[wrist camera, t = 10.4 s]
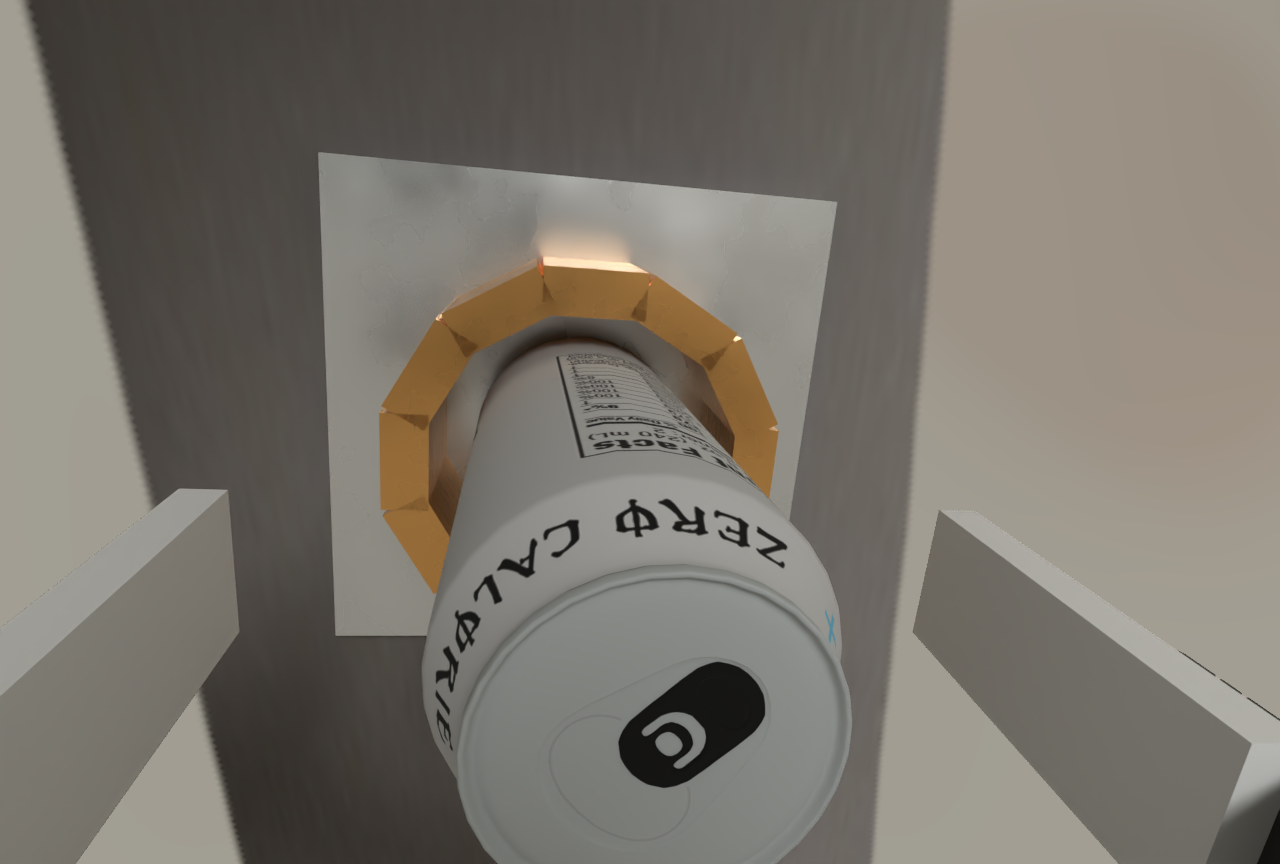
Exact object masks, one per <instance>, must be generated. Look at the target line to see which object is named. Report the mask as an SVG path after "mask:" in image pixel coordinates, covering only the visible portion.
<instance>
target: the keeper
mask: <svg viewBox="0 0 1280 864" xmlns="http://www.w3.org/2000/svg"><path fill="white" fill-rule="evenodd" d="M318 161H319V189H320V216H321V244H322V272H323V300H324V327H325V355H326V383H327V411H328V438H329V466H330V494H331V521H332V549H333V577H334V605H335V632H336V636H427V632H428V626H429V622H430V618H431V614H432V610H433V606H434V602H435V597H436V593H437V589H438V585H439V581H440V577H441V572H442V568H443V564H444V560H445V556H446V552H447V548H448V543H449V539H450V535H451V531H452V527H453V523H454V518H455V514H456V510H457V506H458V502H459V498H460V494H461V489H462V485H463V481H464V477H465V473H466V469H467V464H468V460H469V456H470V452H471V448H472V444H473V440H474V435H475V431H476V427H477V423H478V419H479V415H480V410H481V407H482V405H483V402H484V400H485V397H486V395H487V393H488V390H489V389H490V387H491V386H492V384H493V383H494V381H495V380H496V378H497V377H498V375H499V374H500V373H501V372H502V371H503V370H504V369H505V368H506V367H507V366H508V365H509V364H510V363H511V362H512V361H513V360H515V359H516V358H518V357H519V356H521V355H522V354H524V353H525V352H527V351H528V350H530V349H532V348H534V347H537V346H539V345H542V344H544V343H547V342H549V341H555V340H560V339H565V338H592V339H597V340H602V341H607V342H610V343H613V344H615V345H617V346H620V347H622V348H624V349H627V350H628V351H630V352H631V353H633V354H634V355H636V356H637V357H638V358H640V359H641V360H643V361H644V362H645V363H646V364H647V365H648V366H649V367H650V368H651V369H652V370H653V372H654V373H655V374H656V375H657V376H658V377H659V378H660V379H661V380H662V381H663V382H664V383H665V385H666V386H667V387H668V388H669V389H670V390H671V391H672V392H673V393H674V394H675V396H676V397H677V398H678V399H679V400H680V401H681V402H682V403H683V404H684V405H685V407H686V408H687V409H688V410H689V411H690V412H691V413H692V414H693V415H694V416H695V418H696V419H697V420H698V421H699V422H700V423H701V424H702V425H703V426H704V428H705V429H706V430H707V431H708V432H709V433H710V434H711V435H712V436H713V437H714V439H715V440H716V441H717V442H718V443H719V444H720V445H721V446H722V447H723V448H724V450H725V451H726V452H727V453H728V454H729V455H730V456H731V457H732V458H733V459H734V461H735V462H736V463H737V464H738V465H739V466H740V467H741V468H742V469H743V470H744V472H745V473H746V474H747V475H748V476H749V477H750V478H751V479H752V480H753V481H754V483H755V484H756V485H757V486H758V487H759V488H760V489H761V490H762V491H763V492H764V494H765V495H766V496H767V497H768V498H769V499H770V500H771V501H772V502H773V504H774V505H775V506H776V507H777V508H778V509H779V510H780V511H781V512H782V513H783V515H784V516H785V517H786V518H787V519H788V520H789V518H790V511H791V504H792V498H793V491H794V485H795V478H796V471H797V465H798V458H799V452H800V445H801V438H802V432H803V425H804V419H805V412H806V405H807V399H808V392H809V385H810V379H811V372H812V366H813V359H814V352H815V346H816V339H817V333H818V326H819V319H820V313H821V306H822V300H823V293H824V286H825V280H826V273H827V267H828V260H829V253H830V247H831V240H832V233H833V227H834V220H835V214H836V207H837V202H832V201H822V200H811V199H801V198H790V197H780V196H770V195H759V194H749V193H738V192H728V191H717V190H707V189H697V188H686V187H676V186H665V185H655V184H644V183H634V182H624V181H613V180H603V179H592V178H582V177H572V176H561V175H551V174H540V173H530V172H519V171H509V170H499V169H488V168H478V167H467V166H457V165H447V164H436V163H426V162H415V161H405V160H394V159H384V158H374V157H363V156H353V155H342V154H332V153H322V152H318Z"/></svg>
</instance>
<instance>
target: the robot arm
mask: <svg viewBox="0 0 1280 864" xmlns="http://www.w3.org/2000/svg"><path fill="white" fill-rule="evenodd" d="M238 633H239V621H238V608H237V596H236V584H235V571H234V559H233V547H232V534H231V522H230V509H229V497H228V490H211V489H178V490H177V491H176V492H174V493H173V494H172V495H170V496H169V497H168V498H167V499H165V500H164V501H163V502H161V503H160V504H159V505H158V506H156V507H155V508H154V509H152V510H151V511H150V512H149V513H147V514H146V515H145V516H143V517H142V518H141V519H140V520H138V521H137V522H136V523H135V524H133V525H132V526H131V527H129V528H128V529H127V530H125V531H124V532H123V533H122V534H120V535H119V536H118V537H116V538H115V539H114V540H113V541H111V542H110V543H109V544H108V545H106V546H105V547H104V548H102V549H101V550H100V551H98V552H97V553H96V554H95V555H93V556H92V557H91V558H89V559H88V560H87V561H86V562H84V563H83V564H82V565H80V566H79V567H78V568H77V569H75V570H74V571H73V572H71V573H70V574H69V575H68V576H66V577H65V578H64V579H62V580H61V581H60V582H59V583H57V584H56V585H55V586H53V587H52V588H51V589H50V590H48V591H47V592H46V593H44V594H43V595H42V596H41V597H39V598H38V599H37V600H35V601H34V602H33V603H32V604H30V605H29V606H28V607H26V608H25V609H24V610H23V611H21V612H20V613H19V614H17V615H16V616H15V617H14V618H12V619H11V620H10V621H8V622H7V623H6V624H5V625H3V626H2V627H1V628H0V864H76V862H77V861H78V860H79V858H80V857H81V856H82V854H83V853H84V851H85V850H86V849H87V847H88V846H89V844H90V843H91V841H92V840H93V839H94V837H95V836H96V834H97V833H98V832H99V830H100V828H101V827H102V826H103V824H104V823H105V822H106V820H107V819H108V817H109V816H110V815H111V813H112V812H113V810H114V809H115V807H116V806H117V805H118V803H119V802H120V800H121V799H122V798H123V796H124V795H125V793H126V792H127V790H128V789H129V788H130V786H131V785H132V783H133V782H134V781H135V779H136V778H137V776H138V775H139V773H140V772H141V771H142V769H143V768H144V766H145V765H146V764H147V762H148V761H149V759H150V758H151V756H152V755H153V754H154V752H155V751H156V749H157V748H158V747H159V745H160V744H161V742H162V741H163V739H164V738H165V737H166V735H167V734H168V732H169V731H170V729H171V728H172V727H173V725H174V724H175V722H176V721H177V720H178V718H179V717H180V715H181V714H182V712H183V711H184V710H185V708H186V707H187V705H188V704H189V703H190V701H191V700H192V698H193V697H194V696H195V694H196V693H197V691H198V690H199V688H200V687H201V686H202V684H203V683H204V681H205V680H206V679H207V677H208V676H209V674H210V673H211V671H212V670H213V669H214V667H215V666H216V664H217V663H218V662H219V660H220V659H221V657H222V656H223V654H224V653H225V652H226V650H227V649H228V647H229V646H230V645H231V643H232V642H233V640H234V639H235V637H236V636H237V635H238ZM913 633H914V634H915V635H916V636H917V637H918V639H919V640H920V641H921V642H922V643H923V644H924V645H925V646H926V648H927V649H928V650H929V651H930V652H931V653H932V654H933V655H934V657H935V658H936V659H937V660H938V661H939V662H940V663H941V664H942V665H943V667H944V668H945V669H946V670H947V671H948V672H949V673H950V674H951V676H952V677H953V678H954V679H955V680H956V681H957V682H958V684H960V686H961V687H962V688H963V689H964V690H965V691H966V692H967V694H968V695H969V696H970V697H971V698H972V699H973V700H974V702H975V703H976V704H977V705H978V706H979V707H980V708H981V709H982V711H983V712H984V713H985V714H986V715H987V716H988V717H989V718H990V719H991V721H992V722H993V723H994V724H995V725H996V726H997V727H998V729H999V730H1000V731H1001V732H1002V733H1003V734H1004V735H1005V736H1006V738H1007V739H1008V740H1009V741H1010V742H1011V743H1012V744H1013V745H1014V746H1015V748H1016V749H1017V750H1018V751H1019V752H1020V753H1021V754H1022V756H1023V757H1024V758H1025V759H1026V760H1027V761H1028V762H1029V763H1030V765H1031V766H1032V767H1033V768H1034V769H1035V770H1036V771H1037V772H1038V774H1039V775H1040V776H1041V777H1042V778H1043V779H1044V780H1045V781H1046V783H1047V784H1048V785H1049V786H1050V787H1051V788H1052V789H1053V790H1054V791H1055V793H1056V794H1057V795H1058V796H1059V797H1060V798H1061V799H1062V800H1063V802H1064V803H1065V804H1066V805H1067V806H1068V807H1069V808H1070V810H1071V811H1072V812H1073V813H1074V814H1075V815H1076V816H1077V817H1078V819H1079V820H1080V821H1081V822H1082V823H1083V824H1084V825H1085V826H1086V828H1087V829H1088V830H1089V831H1090V832H1091V833H1092V834H1093V835H1094V837H1095V838H1096V839H1097V840H1098V841H1099V842H1100V843H1101V844H1102V846H1103V847H1104V848H1105V849H1106V850H1107V851H1108V852H1109V853H1110V855H1111V856H1112V857H1113V858H1114V859H1115V860H1116V861H1117V863H1118V864H1280V719H1279V718H1277V717H1276V716H1274V715H1273V714H1271V713H1270V712H1269V711H1267V710H1266V709H1264V708H1263V707H1261V706H1260V705H1258V704H1257V703H1255V702H1254V701H1253V700H1251V699H1250V698H1246V697H1244V696H1243V695H1242V693H1241V692H1239V691H1238V690H1237V689H1235V688H1234V687H1232V686H1231V685H1229V684H1228V683H1226V682H1225V681H1223V680H1222V679H1218V678H1216V677H1215V674H1213V673H1212V672H1210V671H1209V670H1207V669H1206V668H1204V667H1203V666H1201V665H1200V664H1199V663H1197V662H1195V661H1194V660H1193V659H1191V658H1190V657H1188V656H1187V655H1186V654H1184V653H1182V652H1180V651H1178V650H1176V649H1174V648H1173V647H1171V646H1170V645H1169V644H1167V643H1166V642H1164V641H1163V640H1161V639H1160V638H1158V637H1157V636H1155V635H1154V634H1153V633H1151V632H1150V631H1148V630H1147V629H1145V628H1144V627H1142V626H1141V625H1140V624H1138V623H1136V622H1135V621H1134V620H1132V619H1131V618H1129V617H1128V616H1126V615H1125V614H1124V613H1122V612H1121V611H1119V610H1118V609H1116V608H1115V607H1113V606H1112V605H1111V604H1109V603H1108V602H1106V601H1105V600H1103V599H1102V598H1100V597H1099V596H1097V595H1096V594H1095V593H1093V592H1092V591H1090V590H1089V589H1087V588H1086V587H1084V586H1083V585H1081V584H1080V583H1079V582H1077V581H1076V580H1074V579H1073V578H1071V577H1070V576H1068V575H1067V574H1065V573H1064V572H1063V571H1061V570H1059V569H1058V568H1057V567H1055V566H1054V565H1052V564H1051V563H1050V562H1048V561H1047V560H1045V559H1043V558H1042V557H1041V556H1039V555H1038V554H1036V553H1035V552H1034V551H1032V550H1031V549H1029V548H1028V547H1026V546H1025V545H1023V544H1022V543H1020V542H1019V541H1018V540H1016V539H1015V538H1013V537H1012V536H1010V535H1009V534H1007V533H1006V532H1005V531H1003V530H1002V529H1000V528H999V527H997V526H996V525H994V524H993V523H991V522H990V521H989V520H987V519H986V518H984V517H983V516H981V515H980V514H978V513H977V512H975V511H960V510H939V513H938V518H937V522H936V527H935V531H934V537H933V541H932V546H931V550H930V555H929V559H928V564H927V568H926V573H925V578H924V582H923V587H922V592H921V596H920V601H919V605H918V610H917V615H916V619H915V624H914V629H913Z"/></svg>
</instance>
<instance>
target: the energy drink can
mask: <svg viewBox="0 0 1280 864" xmlns="http://www.w3.org/2000/svg"><path fill="white" fill-rule="evenodd" d="M841 651H842V638H841V628H840V617H839V607H838V604H837V601H836V598H835V595H834V592H833V589H832V585H831V582H830V579H829V576H828V573H827V572H826V570H825V568H824V567H823V565H822V563H821V562H820V560H819V558H818V557H817V555H816V553H815V552H814V550H813V548H812V547H811V545H810V543H809V542H808V541H807V540H806V539H805V538H804V537H803V535H802V534H801V533H800V532H799V531H798V530H797V529H796V528H795V527H794V526H793V524H792V523H791V522H790V521H789V520H788V519H787V518H786V517H785V516H784V515H783V513H782V512H781V511H780V510H779V509H778V508H777V507H776V506H775V505H774V504H773V502H772V501H771V500H770V499H769V498H768V497H767V496H766V495H765V494H764V492H763V491H762V490H761V489H760V488H759V487H758V486H757V485H756V484H755V483H754V481H753V480H752V479H751V478H750V477H749V476H748V475H747V474H746V473H745V472H744V470H743V469H742V468H741V467H740V466H739V465H738V464H737V463H736V462H735V461H734V459H733V458H732V457H731V456H730V455H729V454H728V453H727V452H726V451H725V450H724V448H723V447H722V446H721V445H720V444H719V443H718V442H717V441H716V440H715V439H714V437H713V436H712V435H711V434H710V433H709V432H708V431H707V430H706V429H705V428H704V426H703V425H702V424H701V423H700V422H699V421H698V420H697V419H696V418H695V416H694V415H693V414H692V413H691V412H690V411H689V410H688V409H687V408H686V407H685V405H684V404H683V403H682V402H681V401H680V400H679V399H678V398H677V397H676V396H675V394H674V393H673V392H672V391H671V390H670V389H669V388H668V387H667V386H666V385H665V383H664V382H663V381H662V380H661V379H660V378H659V377H658V376H657V375H656V374H655V373H654V372H653V370H652V369H651V368H650V367H649V366H648V365H647V364H646V363H645V362H644V361H643V360H641V359H640V358H638V357H637V356H636V355H634V354H633V353H631V352H630V351H628V350H627V349H624V348H622V347H620V346H617V345H615V344H613V343H610V342H607V341H602V340H597V339H592V338H565V339H560V340H555V341H549V342H547V343H544V344H542V345H539V346H537V347H534V348H532V349H530V350H528V351H527V352H525V353H524V354H522V355H521V356H519V357H518V358H516V359H515V360H513V361H512V362H511V363H510V364H509V365H508V366H507V367H506V368H505V369H504V370H503V371H502V372H501V373H500V374H499V375H498V377H497V378H496V380H495V381H494V383H493V384H492V386H491V387H490V389H489V390H488V393H487V395H486V397H485V400H484V402H483V405H482V407H481V410H480V415H479V419H478V423H477V427H476V431H475V435H474V440H473V444H472V448H471V452H470V456H469V460H468V464H467V469H466V473H465V477H464V481H463V485H462V489H461V494H460V498H459V502H458V506H457V510H456V514H455V518H454V523H453V527H452V531H451V535H450V539H449V543H448V548H447V552H446V556H445V560H444V564H443V568H442V572H441V577H440V581H439V585H438V589H437V593H436V597H435V602H434V606H433V610H432V614H431V618H430V622H429V626H428V632H427V637H426V643H425V648H424V654H423V660H422V665H421V671H422V689H423V705H424V708H425V712H426V715H427V719H428V722H429V725H430V729H431V732H432V735H433V739H434V741H435V743H436V745H437V746H438V748H439V750H440V752H441V753H442V755H443V757H444V759H445V760H446V762H447V764H448V766H449V767H450V769H451V771H452V773H453V774H454V776H455V777H456V778H457V788H458V791H459V795H460V798H461V802H462V805H463V809H464V812H465V815H466V819H467V821H468V823H469V825H470V826H471V828H472V830H473V831H474V833H475V835H476V837H477V838H478V840H479V842H480V843H481V845H482V847H483V849H484V850H485V851H486V852H487V853H488V854H489V855H490V856H491V857H492V858H493V859H494V860H495V861H496V862H497V864H776V863H777V862H778V861H779V860H781V859H782V858H783V857H784V856H785V855H786V854H787V853H789V852H790V851H791V850H792V849H793V848H794V847H796V846H797V845H798V844H799V843H800V841H801V840H802V839H803V838H804V837H805V835H806V834H807V833H808V832H809V831H810V829H811V828H812V827H813V826H814V825H815V823H816V822H817V821H818V820H819V819H820V817H821V816H822V814H823V812H824V810H825V809H826V807H827V805H828V803H829V802H830V800H831V798H832V796H833V795H834V793H835V791H836V789H837V788H838V785H839V782H840V779H841V776H842V773H843V770H844V767H845V764H846V761H847V759H848V754H849V746H850V738H851V730H852V713H851V702H850V691H849V688H848V685H847V682H846V679H845V676H844V673H843V670H842V667H841V664H840V660H841Z"/></svg>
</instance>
